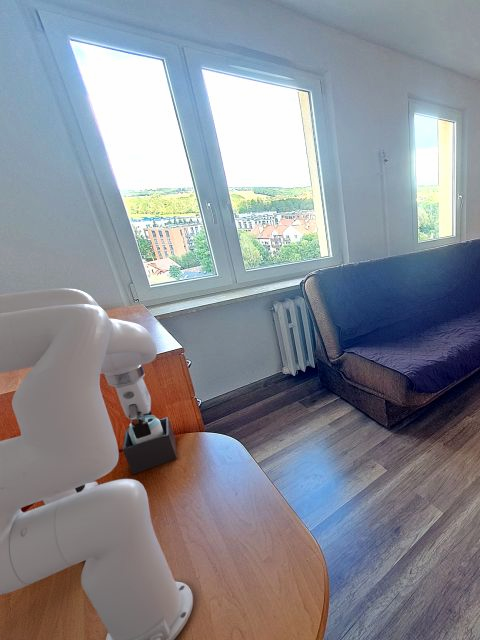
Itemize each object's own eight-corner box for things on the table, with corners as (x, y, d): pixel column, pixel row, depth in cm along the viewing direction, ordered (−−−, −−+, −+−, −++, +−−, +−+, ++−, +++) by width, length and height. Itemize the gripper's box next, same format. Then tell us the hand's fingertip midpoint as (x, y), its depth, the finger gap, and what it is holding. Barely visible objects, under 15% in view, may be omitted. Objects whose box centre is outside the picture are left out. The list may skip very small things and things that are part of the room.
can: (158, 443, 102) (147, 411, 98) (175, 449, 100) (164, 416, 96) (133, 459, 96) (120, 426, 92) (150, 466, 94) (137, 431, 89)
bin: (176, 458, 98) (168, 434, 94) (132, 474, 92) (122, 449, 89) (175, 439, 105) (168, 416, 102) (134, 453, 99) (125, 429, 96)
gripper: (142, 384, 84) (161, 438, 90) (144, 358, 97) (161, 407, 103) (102, 394, 80) (125, 450, 86) (110, 365, 93) (129, 416, 99)
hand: (144, 426), depth 95 cm, fingers open, 9 cm apart
